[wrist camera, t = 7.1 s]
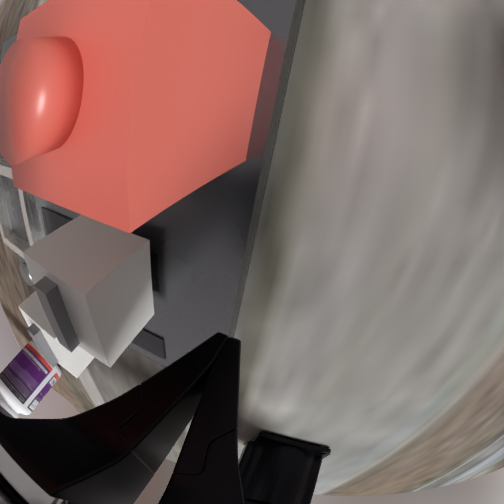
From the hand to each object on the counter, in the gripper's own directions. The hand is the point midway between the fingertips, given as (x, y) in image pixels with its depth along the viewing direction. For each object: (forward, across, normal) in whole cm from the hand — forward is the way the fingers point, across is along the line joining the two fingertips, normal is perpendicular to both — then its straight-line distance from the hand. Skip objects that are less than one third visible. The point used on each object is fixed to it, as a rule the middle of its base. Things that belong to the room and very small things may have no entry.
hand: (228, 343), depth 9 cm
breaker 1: (+1, +6, 0) cm, 6 cm away
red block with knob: (+2, +3, -8) cm, 8 cm away
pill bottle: (+3, +32, +32) cm, 45 cm away
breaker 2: (+1, +10, +6) cm, 12 cm away
